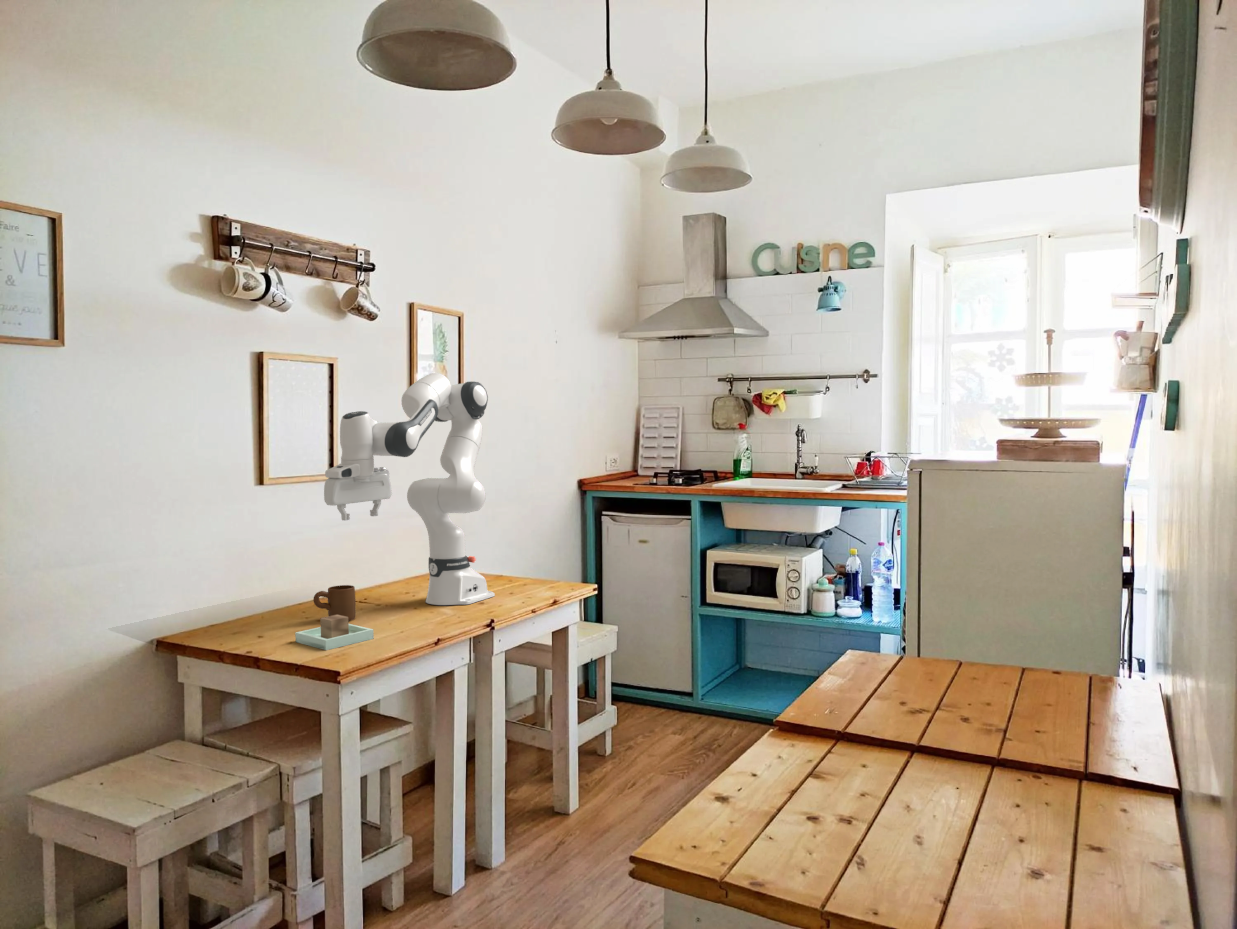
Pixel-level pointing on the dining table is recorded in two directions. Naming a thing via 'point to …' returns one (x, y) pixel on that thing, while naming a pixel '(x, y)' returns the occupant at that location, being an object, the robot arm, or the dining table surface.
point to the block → (334, 626)
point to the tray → (315, 639)
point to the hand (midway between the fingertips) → (360, 518)
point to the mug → (338, 601)
